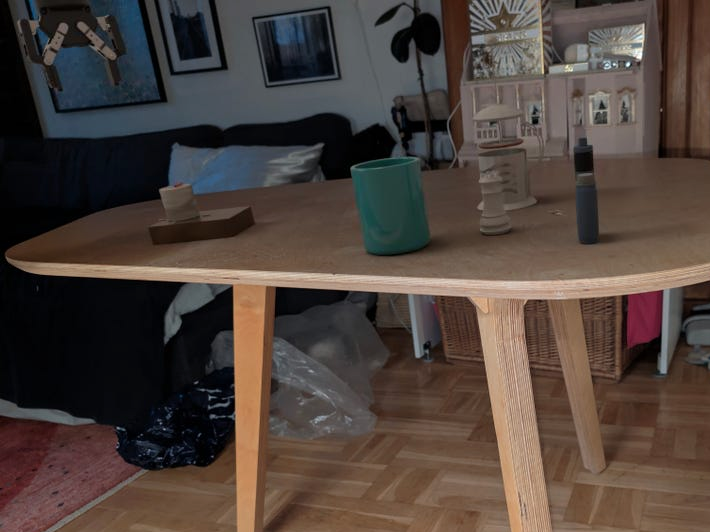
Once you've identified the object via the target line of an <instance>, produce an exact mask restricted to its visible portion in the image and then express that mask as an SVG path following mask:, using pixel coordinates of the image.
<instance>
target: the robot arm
mask: <svg viewBox="0 0 710 532" xmlns="http://www.w3.org/2000/svg"><path fill="white" fill-rule="evenodd" d="M32 1H33V4H34V7H35V10H36V13H37V19H33V20H29V19H26V18H21V19H19V20H17V21H16V26H17V30H18V34H19V38H20V41H21V45H22V49H23V52H24V56H25V60H26V61H27V62H28V63H31V64H35V65H40V66H41V67H42V70H43V72H44V75H45V78H46V81H47V85H48V86H49V88H50V89H54V91H55V92H57V93H58V92H63V91H64V88H63V85H62V83H61V82H62V81H61V79H60V75H59V73H58V70H57V66H56V65H54V61H55V59H56V57H57V54H58V53H59V51H60V48H62V49H64V50H65V49H70V48H85V47H90V48H91V49H92V50H93V51H95V52H96V53H98V54H99V55H100V56H101V57H102V58H103V59H104V60H105V61H104V62H103V63H104V66H105V70H106V73H107V77H108V80H109V83H110V86H111V87H116V86H120V82H121V81H122V75H121V72H120V68H119V65H118V62H117V60H118V58H120V57H122V56H124V55H126V54H127V49H126V45H125V43H124V39H123V37H122V34H121V30H120V28H119V25H118V22H117V19H116V17H115V15H113V14H107V15H105V16H97V17H96V16H95V15H94V13H93V11H92V8H91V5H90V1H89V0H32ZM98 26H100V27H101V28H102V29H101V30H103V31H105V32H106V33H107V36H108V38H109V41H110V44H111V47H112V49H111V48H110V47H109V46H108V45H107V44H106V43H105V41H103V40H102V39H101V38H100V37H99V36H98V35H97V34H96V31H97V29H98ZM38 29H39V30H40V31H41V32H42V33H43V34H44V35H46V36H47V37H48V39H47V42H46V45H45V47H44V49H43V53H42V55H40V54H38V50H37V47H36V46H37V45H36V42H35V38H34V36H35V35H36V34H37V30H38Z"/></svg>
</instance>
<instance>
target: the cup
mask: <svg viewBox="0 0 710 532" xmlns="http://www.w3.org/2000/svg"><path fill="white" fill-rule="evenodd" d="M349 170H350V175H351V181H352V186H353V191H354V196H355V202H356V207H357V208H356V209H357V213H358V219H359V224H360V231H361V236H362V241H363V246H364V249H365V250H366V252H368V253H369V254H372V255H377V256H392V255H393V256H394V255H400V254H401V255H402V254H407V253H411V252H414V251H415V252H416V251H418V250H420V249H422V248H424V247H426V246H427V245H429V243H430V242H431V230H430V223H429V216H428V209H427V203H426V195H425V189H424V181H423V175H422V169H421V160H420V158H419V157H417V156H398V157H397V156H396V157H388V158H387V157H386V158H381V159H375V160H374V159H373V160H369V161H364V162H360V163H357V164H354V165H352V166H350V169H349Z"/></svg>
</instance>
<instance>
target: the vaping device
mask: <svg viewBox="0 0 710 532" xmlns="http://www.w3.org/2000/svg"><path fill="white" fill-rule="evenodd" d="M577 141H578V142H577V143H578V144H577V145H576V146H573V149H572V150H573V165H574V166H573V167H574V182H575V183H574V184H575V215H576V226H577V227H576V229H577V236H578V242H579V243H580V244H582V245H583V244H584V245H587V244H588V245H589V244H595V243H598V241H599V236H600V226H599V225H600V223H599V205H598V204H599V203H598V201H599V200H598V199H599V198H598V189H597V182H596V179H595V163H594V162H595V161H594V145H593V144H588V138H587V137H581V138H577Z"/></svg>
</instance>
